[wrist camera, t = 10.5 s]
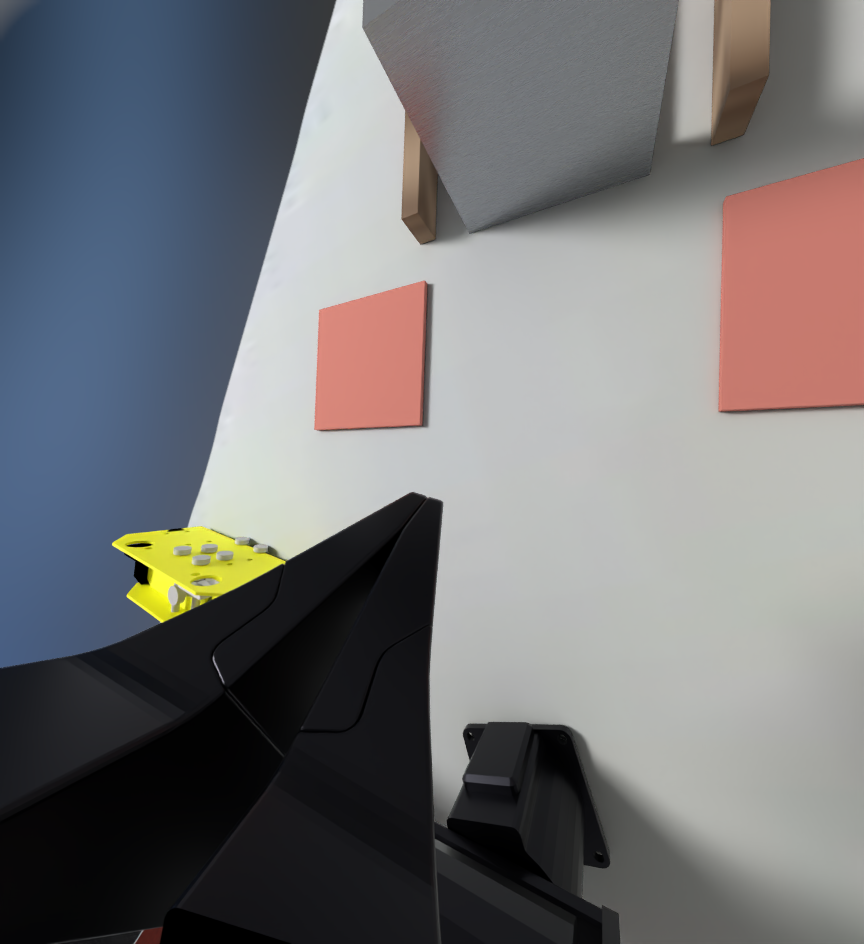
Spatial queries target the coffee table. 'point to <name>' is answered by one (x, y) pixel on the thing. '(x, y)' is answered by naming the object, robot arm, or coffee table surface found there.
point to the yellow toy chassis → (189, 567)
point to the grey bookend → (527, 94)
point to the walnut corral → (733, 103)
